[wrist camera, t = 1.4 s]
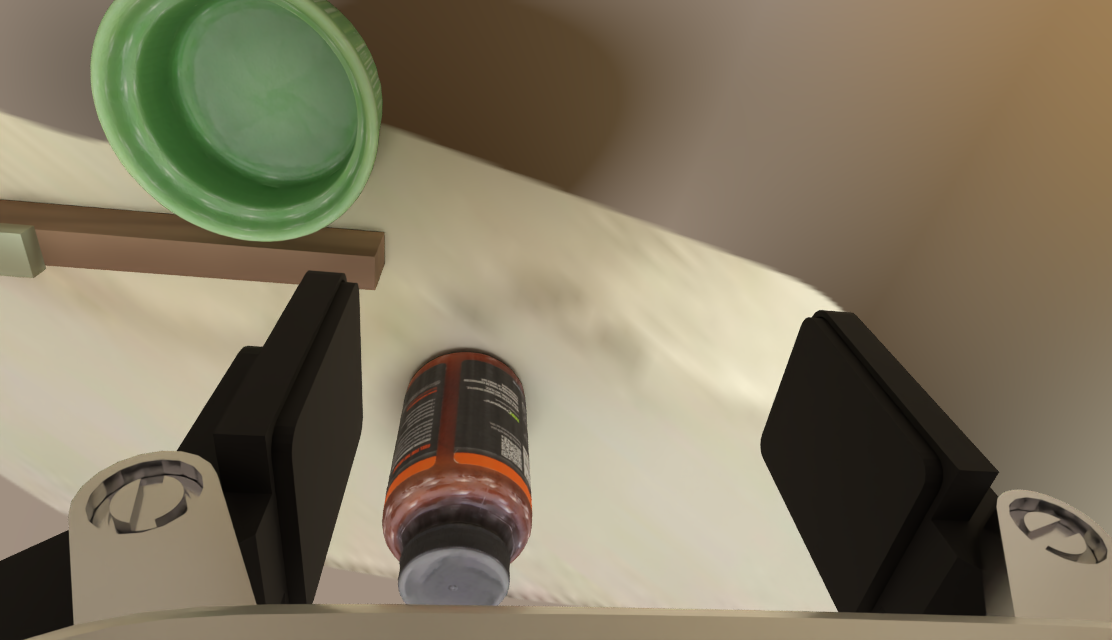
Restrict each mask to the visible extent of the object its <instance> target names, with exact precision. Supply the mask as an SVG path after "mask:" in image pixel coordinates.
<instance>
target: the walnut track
mask: <svg viewBox="0 0 1112 640" xmlns="http://www.w3.org/2000/svg"><path fill="white" fill-rule="evenodd" d="M384 264H385V237H384V232H373V231H361V230H349V229H338V228H326V227H324V228H322V229H320V230H318V231H316V232H314V233H311V234H309V235H306V236H302V237H299V238H295V239H289V240H283V241H272V242H262V241H248V240H241V239H236V238H231V237H227V236H224V235H220V234H217V233H214V232H211V231H208V230H206V229H203V228H201V227H199V226H196V225H194V224H192V223H190V222H188V221H186V220H184V219H183V218H181V217H179V216H178V215H174V214H162V213H151V212H139V211H127V210H115V209H104V208H92V207H80V206H69V205H57V204H45V203H34V202H22V201H10V200H0V276H12V277H26V278H34V277H36V276H37V275H38V274H40V273H41V272H43V271H44V270H45V269H46V266H45V265H47V266H61V267H74V268H87V269H101V270H114V271H127V272H140V273H154V274H167V275H180V276H194V277H207V278H220V279H233V280H247V281H260V282H273V283H286V284H300V282H301V280H302V279H303V277H304V275H305V274H306V272H307V271H308V270H312V271H325V272H337V273H345V275H346V278H347V282H353V283H358V286H359V289H366V290H375V289H376V286H377V284H378V281H379V278H380V275H381V273H382V270H383V267H384Z"/></svg>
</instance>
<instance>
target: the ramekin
mask: <svg viewBox="0 0 1112 640" xmlns="http://www.w3.org/2000/svg"><path fill="white" fill-rule="evenodd" d="M90 70H91V88H92V95H93V99H94V104H95V108H96V112H97V115H98V118H99V121H100V123H101V126H102V128H103V131H104V133H105V135H106V137H107V139H108V141H109V143H110V145H111V147H112V149H113V151H114V152H115V154H116V155H117V157H118V159H119V160H120V162H121V163H122V164H123V166H124V167H125V168H126V170H127V171H128V172H129V174H130V175H131V176H132V177H133V178H134V179H135V180H136V181H137V182H138V183H139V185H140V186H141V187H142V188H143V189H144V190H145V191H146V192H148V193H149V194H150V195H151V196H152V197H153V198H154V199H156V200H157V201H158V202H159V203H160V204H161V205H163V206H164V207H165V208H167V209H168V210H170V211H171V212H173V213H174V214H176V215H178V216H179V217H181V218H183V219H184V220H186V221H188V222H190V223H192V224H194V225H196V226H199V227H201V228H203V229H206V230H208V231H211V232H214V233H217V234H220V235H224V236H227V237H231V238H236V239H241V240H248V241H262V242H272V241H283V240H289V239H295V238H299V237H302V236H306V235H309V234H311V233H314V232H316V231H318V230H320V229H322V228H324V227H326V226H328V225H329V224H331V223H332V222H334V221H335V220H336V219H338V218H339V217H340V216H341V215H343V214H344V213H345V212H346V211H347V210H348V209H349V208H350V207H351V205H352V204H353V203H354V202H355V201H356V199H357V198H358V197H359V195H360V194H361V192H362V190H363V188H364V186H365V185H366V183H367V181H368V179H369V176H370V174H371V171H372V168H373V165H374V162H375V158H376V154H377V148H378V140H379V131H380V124H381V119H382V104H383V101H382V94H381V84H380V80H379V78H378V73H377V68H376V65H375V63H374V60H373V58H372V55H371V53H370V51H369V49H368V48H367V46H366V44H365V42H364V40H363V39H362V37H361V36H360V34H359V33H358V31H357V30H356V29H355V28H354V26H353V25H352V24H351V22H350V21H349V20H348V19H347V18H346V17H345V16H344V15H343V14H342V13H341V12H340V11H339V10H338V9H337V8H336V7H334V6H333V5H332V4H331V3H330V2H328V1H327V0H114V1H113V3H112V4H111V5H110V7H109V9H108V10H107V11H106V13H105V15H104V17H103V19H102V21H101V23H100V26H99V28H98V31H97V33H96V37H95V41H94V44H93V49H92V55H91V66H90Z"/></svg>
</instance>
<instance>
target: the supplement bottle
mask: <svg viewBox="0 0 1112 640" xmlns="http://www.w3.org/2000/svg"><path fill="white" fill-rule="evenodd" d="M531 502H532V499H531V484H530V467H529V452H528V433H527V414H526V402H525V395H524V391H523V387H522V384H521V382H520V380H519V379H518V378H517V376H516V375H515V373H514V372H513V371H512V370H511V369H510V368H509V367H507V366H506V365H505V364H504V363H502V362H501V361H499V360H497V359H495V358H492V357H490V356H488V355H484V354H480V353H473V352H458V353H451V354H446V355H443V356H440V357H437V358H436V359H433V360H432V361H430V362H428V363H427V364H426V365H424V366H423V367H422V368H421V369H420V370H419V371H418V372H417V373H416V374H415V375H414V377H413V378H412V380H411V381H410V383H409V386H408V389H407V392H406V395H405V399H404V404H403V410H402V415H401V419H400V426H399V431H398V436H397V441H396V446H395V451H394V456H393V461H392V467H391V473H390V476H389V482H388V487H387V491H386V498H385V504H384V510H383V519H382V526H383V534H384V537H385V541H386V544H387V546H388V547H389V549H390V551H391V552H392V553H393V555H394V556H395V557H396V558H397V560H398V561H400V563H399V564H400V572H399V577H398V588H399V592H400V596H401V597H402V599H403V601H404V602H405V603H406V604H421V605H487V606H498V605H499V604H500V603H501V602H502V600H503V599H504V597H505V596H506V595H507V592H508V589H509V583H510V573H509V566H510V563H512V562H513V561H514V560H515V559H516V558H517V557H518V556H519V555H520V553H521V552H522V550H523V549H524V547H525V545H526V544H527V541H528V538H529V537H530V533H531V528H532V504H531Z"/></svg>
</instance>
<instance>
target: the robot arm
mask: <svg viewBox="0 0 1112 640" xmlns="http://www.w3.org/2000/svg"><path fill="white" fill-rule="evenodd" d="M362 421H363V405H362V371H361V337H360V302H359V286H358V283H353V282H347V278H346V275H345V273H337V272H325V271H312V270H308V271H307V272H306V274H305V275H304V277H303V279H302V280H301V282H300V284H299V286H298V287H297V289H296V291H295V292H294V294H293V296H292V298H291V299H290V301H289V303H288V305H287V306H286V308H285V310H284V311H283V313H282V315H281V317H280V318H279V320H278V322H277V323H276V325H275V327H274V329H273V330H272V332H271V334H270V336H269V337H268V339H267V341H266V342H265V344H264V346H263V347H257V346H246V347H243V348H242V349H241V351H240V352H239V353H238V354H237V356H236V358H235V359H234V361H233V362H232V364H231V366H230V367H229V369H228V370H227V372H226V374H225V375H224V377H223V378H222V380H221V381H220V383H219V385H218V386H217V388H216V389H215V391H214V393H213V394H212V396H211V397H210V399H209V401H208V402H207V404H206V405H205V407H204V408H203V410H202V412H201V413H200V415H199V416H198V418H197V420H196V421H195V423H194V424H193V426H192V427H191V429H190V431H189V432H188V434H187V435H186V437H185V439H184V440H183V442H182V443H181V445H180V447H179V448H178V450H177V451H158V452H152V453H146V454H140V455H137V456H134V457H131V458H128V459H125V460H122V461H119V462H117V463H115V464H113V465H111V466H109V467H108V468H106V469H104V470H102V471H100V472H98V473H97V474H96V475H95V476H93V477H92V478H91V479H90V480H89V481H87V482H86V483H85V484H84V485H83V486H82V487H81V488H80V489H79V491H78V492H77V494H76V495H75V497H74V498H73V500H72V501H71V505H70V510H69V514H68V525H69V530H68V531H65V532H63V533H61V534H59V535H56V536H54V537H52V538H50V539H48V540H46V541H43V542H41V543H39V544H37V545H34V546H32V547H30V548H28V549H26V550H23V551H21V552H19V553H17V554H15V555H12V556H10V557H8V558H6V559H4V560H1V561H0V640H1112V538H1111V537H1110V536H1109V535H1108V534H1107V533H1106V531H1105V530H1104V529H1103V528H1102V527H1101V526H1100V525H1098V524H1097V523H1096V522H1094V521H1093V520H1092V519H1091V518H1089V517H1088V516H1087V515H1085V514H1084V513H1082V512H1080V511H1079V510H1077V509H1075V508H1074V507H1072V506H1070V505H1068V504H1067V503H1065V502H1062V501H1060V500H1058V499H1055V498H1053V497H1050V496H1048V495H1045V494H1041V493H1037V492H1034V491H1029V490H1017V489H1016V490H1010V491H1006V492H1004V493H1002V494H1001V495H1000V496H999V497H998V496H997V495H996V494H995V492H994V491H993V490H992V489H991V488H990V486H991V484H992V483H993V481H994V480H995V478H996V476H997V475H998V473H999V471H998V470H997V469H996V468H995V467H994V466H993V465H992V464H991V463H990V462H989V460H988V459H987V458H986V457H985V456H984V455H983V454H982V453H981V452H980V451H979V450H978V448H977V447H976V446H975V445H974V444H973V443H972V442H971V441H970V440H969V439H968V437H966V435H965V434H964V433H963V432H962V431H961V430H960V429H959V428H958V426H957V425H956V424H955V423H954V422H953V421H952V420H951V419H950V418H949V417H948V416H947V414H946V413H945V412H944V411H943V410H942V409H941V408H940V407H939V406H938V405H937V403H936V402H935V401H934V400H933V399H932V398H931V397H930V396H929V395H928V394H927V392H926V391H925V390H924V389H923V388H922V387H921V386H920V385H919V384H918V383H917V382H916V380H915V379H914V378H913V377H912V376H911V375H910V374H909V373H908V372H907V371H906V369H905V368H904V367H903V366H902V365H901V364H900V363H899V362H898V361H897V360H896V359H895V357H894V356H893V355H892V354H891V353H890V352H889V351H888V350H887V349H886V348H885V346H884V345H883V344H882V343H881V342H880V341H879V340H878V339H877V338H876V337H875V335H874V334H873V333H872V332H871V331H870V330H869V329H868V328H867V327H866V326H865V325H864V323H863V322H862V321H861V320H860V319H859V318H858V317H857V316H856V315H855V314H854V313H849V312H837V311H824V310H819V311H817V312H816V313H815V314H814V315H813V316H812V318H810V317H808V318H806V319H805V320H804V321H803V323H802V325H801V327H800V330H799V333H798V336H797V338H796V341H795V344H794V347H793V350H792V352H791V355H790V358H789V361H788V364H787V366H786V369H785V372H784V375H783V378H782V380H781V383H780V386H779V389H778V392H777V394H776V397H775V400H774V403H773V406H772V408H771V411H770V414H769V417H768V420H767V422H766V425H765V428H764V431H763V433H762V437H761V444H760V445H761V454H762V457H763V459H764V461H765V463H766V465H767V467H768V469H769V471H770V473H771V475H772V478H773V480H774V482H775V484H776V486H777V488H778V490H779V492H780V494H781V496H782V498H783V500H784V502H785V504H786V506H787V508H788V510H789V512H790V514H791V516H792V518H793V520H794V523H795V525H796V527H797V529H798V531H799V533H800V535H801V537H802V539H803V541H804V543H805V545H806V547H807V549H808V551H809V553H810V555H811V557H812V559H813V561H814V563H815V565H816V568H817V570H818V572H819V574H820V576H821V578H822V580H823V582H824V584H825V586H826V588H827V590H828V592H829V594H830V596H831V598H832V600H833V602H834V604H835V606H836V608H837V610H838V612H810V611H764V610H718V609H667V608H616V607H553V606H487V605H421V604H312V603H313V600H314V597H315V593H316V590H317V587H318V583H319V580H320V576H321V573H322V569H323V566H324V562H325V559H326V555H327V552H328V548H329V545H330V541H331V538H332V534H333V531H334V527H335V524H336V520H337V517H338V513H339V510H340V506H341V503H342V499H343V496H344V492H345V489H346V485H347V482H348V478H349V475H350V471H351V468H352V464H353V461H354V457H355V454H356V450H357V447H358V443H359V440H360V436H361V430H362Z"/></svg>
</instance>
